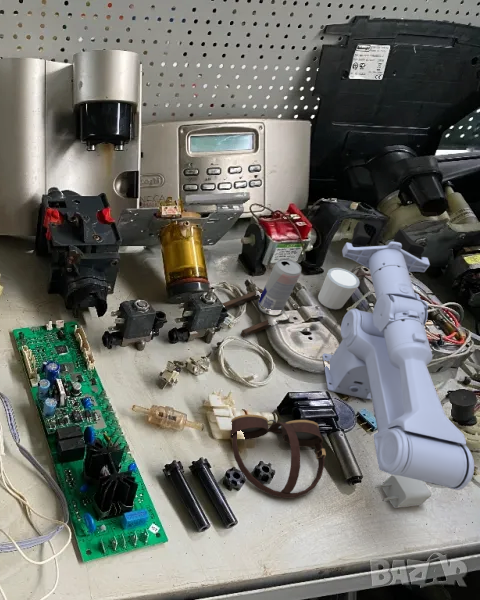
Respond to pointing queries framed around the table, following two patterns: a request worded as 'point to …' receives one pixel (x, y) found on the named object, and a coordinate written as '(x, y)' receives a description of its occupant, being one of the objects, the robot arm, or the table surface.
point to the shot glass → (337, 288)
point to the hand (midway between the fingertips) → (377, 229)
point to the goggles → (292, 433)
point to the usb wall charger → (405, 491)
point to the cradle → (245, 299)
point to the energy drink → (280, 284)
